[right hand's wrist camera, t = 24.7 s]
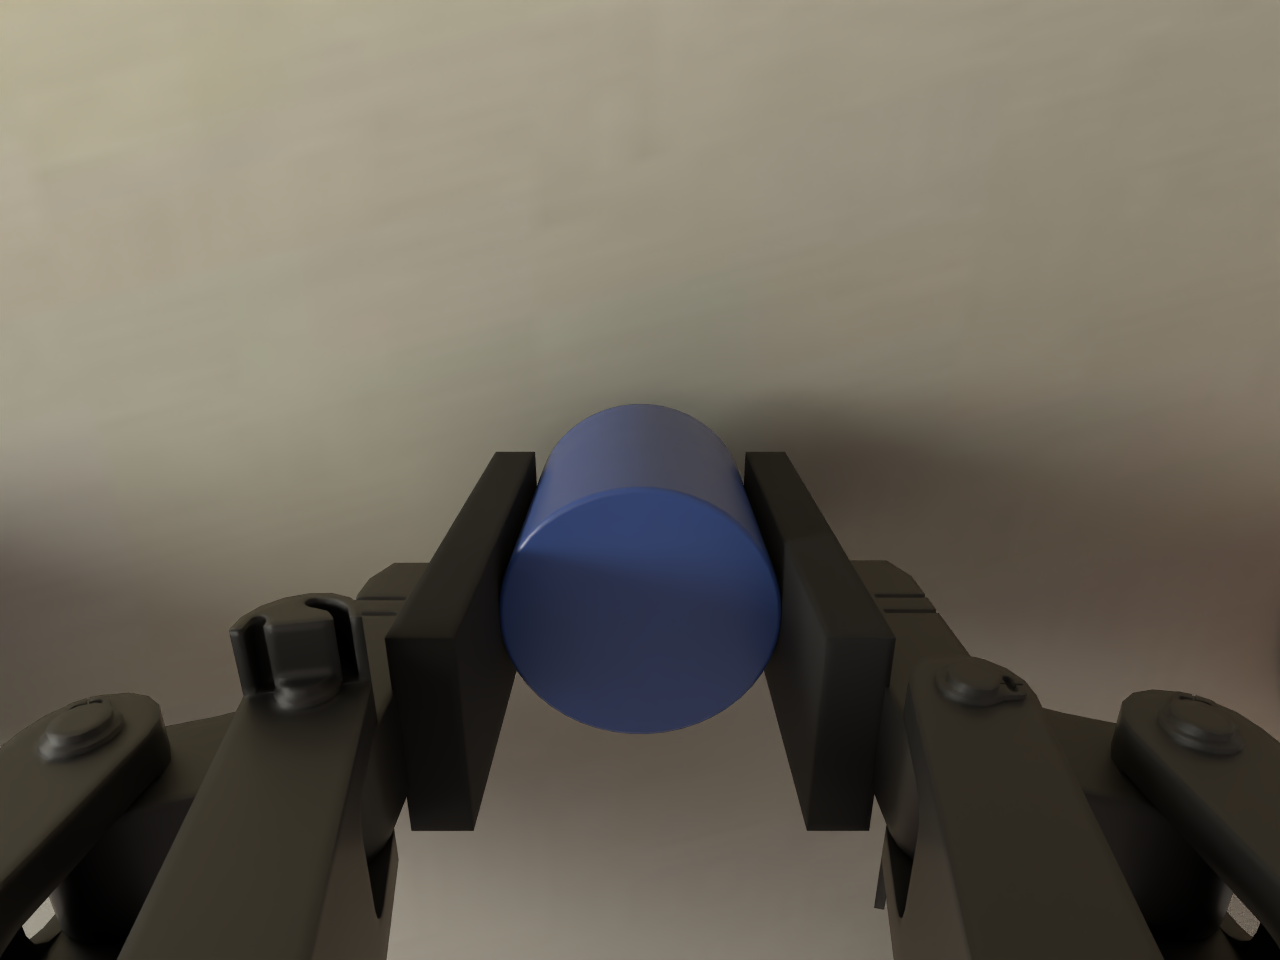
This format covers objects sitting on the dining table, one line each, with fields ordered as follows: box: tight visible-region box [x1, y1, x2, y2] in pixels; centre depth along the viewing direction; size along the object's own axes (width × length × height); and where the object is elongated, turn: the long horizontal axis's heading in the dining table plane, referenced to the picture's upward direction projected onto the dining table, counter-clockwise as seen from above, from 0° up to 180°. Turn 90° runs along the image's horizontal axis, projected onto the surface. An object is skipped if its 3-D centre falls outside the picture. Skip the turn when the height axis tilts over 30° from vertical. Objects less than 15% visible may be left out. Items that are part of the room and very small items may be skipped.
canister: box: [499, 404, 782, 734], centre depth 13 cm, size 4×4×4 cm
